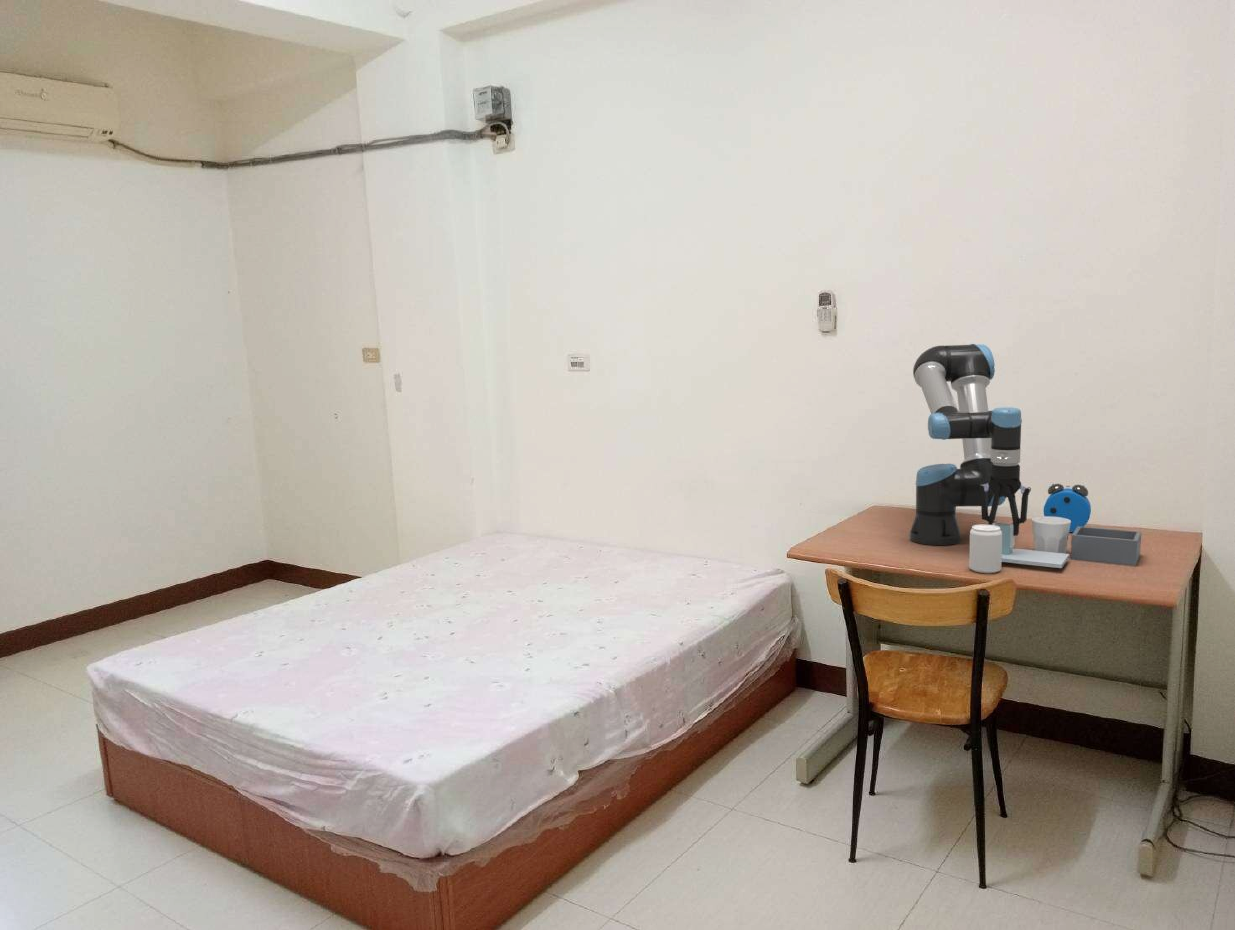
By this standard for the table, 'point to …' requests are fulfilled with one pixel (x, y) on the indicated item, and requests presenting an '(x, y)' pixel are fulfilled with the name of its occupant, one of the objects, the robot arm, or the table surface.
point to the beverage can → (985, 548)
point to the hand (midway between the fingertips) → (1003, 545)
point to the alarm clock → (1068, 504)
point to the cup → (1051, 534)
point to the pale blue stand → (1028, 553)
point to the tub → (1106, 545)
